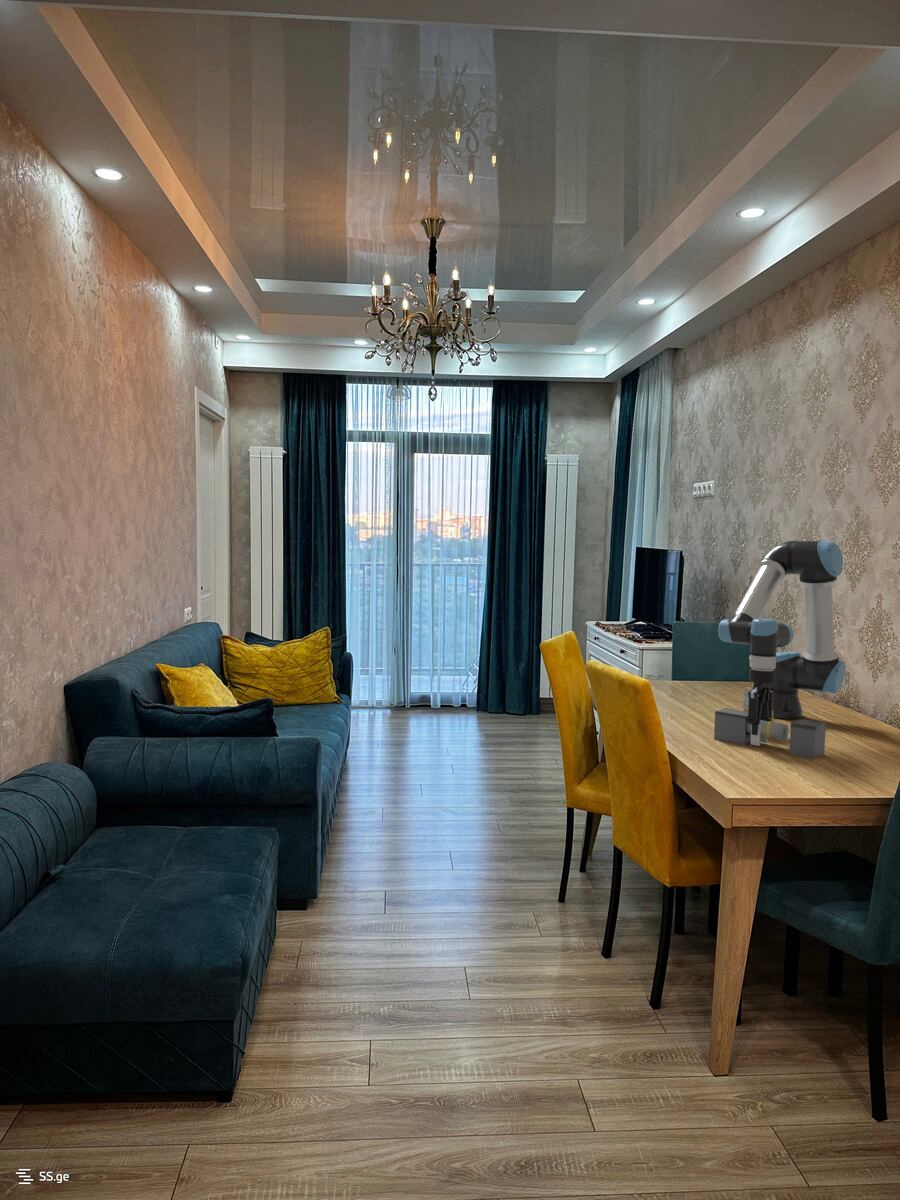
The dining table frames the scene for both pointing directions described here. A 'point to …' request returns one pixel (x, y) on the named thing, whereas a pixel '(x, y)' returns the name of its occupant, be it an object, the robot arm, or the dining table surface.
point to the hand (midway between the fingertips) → (758, 743)
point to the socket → (807, 738)
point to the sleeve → (731, 726)
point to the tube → (771, 729)
